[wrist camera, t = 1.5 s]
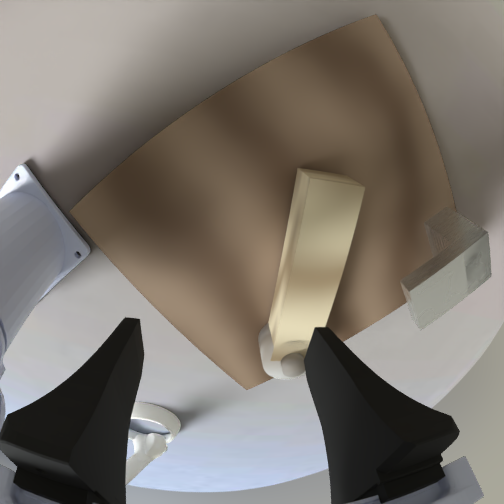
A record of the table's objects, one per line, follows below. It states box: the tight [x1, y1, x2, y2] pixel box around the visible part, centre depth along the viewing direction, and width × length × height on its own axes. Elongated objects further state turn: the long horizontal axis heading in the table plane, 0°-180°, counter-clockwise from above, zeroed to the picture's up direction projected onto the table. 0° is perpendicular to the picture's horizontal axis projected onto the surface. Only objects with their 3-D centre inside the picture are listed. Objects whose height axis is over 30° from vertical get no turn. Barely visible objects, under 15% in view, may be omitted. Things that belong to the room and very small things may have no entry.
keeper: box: [400, 207, 491, 330], centre depth 18 cm, size 7×4×5 cm, turn 123°
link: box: [258, 168, 365, 379], centre depth 18 cm, size 14×4×3 cm, turn 173°
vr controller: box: [126, 402, 181, 485], centre depth 24 cm, size 8×12×7 cm
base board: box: [69, 14, 457, 390], centre depth 19 cm, size 22×20×1 cm
